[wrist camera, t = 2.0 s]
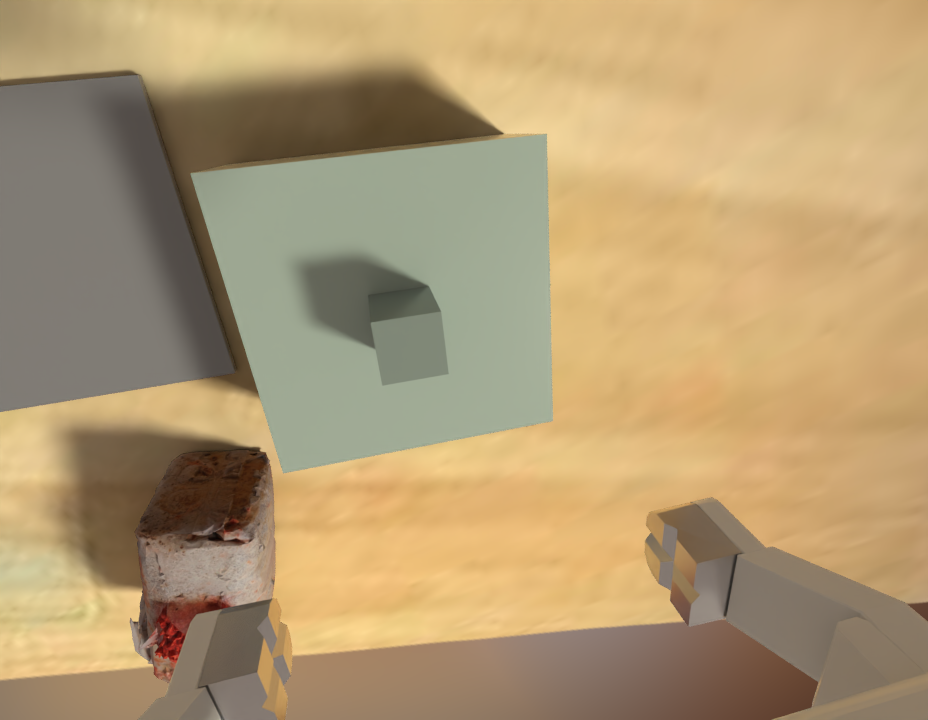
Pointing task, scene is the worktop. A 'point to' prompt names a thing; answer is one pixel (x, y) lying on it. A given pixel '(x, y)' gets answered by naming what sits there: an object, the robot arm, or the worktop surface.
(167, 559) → the food item
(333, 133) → the worktop surface
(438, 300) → the cover
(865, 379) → the worktop surface
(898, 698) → the robot arm
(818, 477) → the worktop surface
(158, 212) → the bar
